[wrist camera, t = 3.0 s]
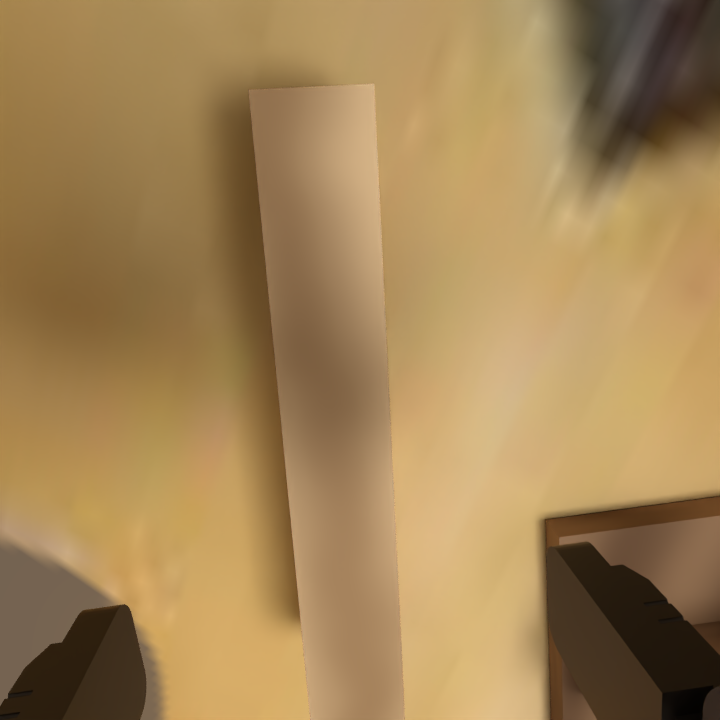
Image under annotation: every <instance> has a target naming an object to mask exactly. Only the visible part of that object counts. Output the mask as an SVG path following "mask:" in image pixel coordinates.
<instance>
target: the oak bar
mask: <svg viewBox="0 0 720 720" xmlns="http://www.w3.org/2000/svg"><path fill="white" fill-rule="evenodd" d="M248 92H249V102H250V112H251V122H252V132H253V142H254V153H255V163H256V173H257V183H258V193H259V203H260V214H261V224H262V234H263V244H264V254H265V264H266V274H267V285H268V295H269V305H270V315H271V325H272V335H273V346H274V356H275V366H276V376H277V386H278V396H279V407H280V417H281V427H282V437H283V447H284V457H285V468H286V478H287V488H288V498H289V508H290V518H291V529H292V539H293V549H294V559H295V569H296V579H297V589H298V600H299V610H300V620H301V630H302V640H303V650H304V661H305V671H306V681H307V691H308V701H309V711H310V720H405V708H404V687H403V667H402V646H401V626H400V605H399V584H398V564H397V543H396V523H395V502H394V482H393V461H392V440H391V420H390V399H389V379H388V358H387V337H386V317H385V296H384V276H383V255H382V234H381V214H380V193H379V173H378V152H377V131H376V111H375V90H374V84H354V85H334V86H313V87H292V88H271V89H250V90H248Z"/></svg>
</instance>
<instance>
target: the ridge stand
mask: <svg viewBox="0 0 720 720" xmlns="http://www.w3.org/2000/svg"><path fill="white" fill-rule="evenodd" d="M585 541H587V542H590V543H591V544H592V545H593V546H594V547H595V548H596V549H597V550H598V552H599V553H600V554H601V555H602V556H603V557H604V559H605V560H606V561H607V562H608V563H609V564H610V566H614V565H621V564H623V565H625V566H626V567H628V568H630V569H632V570H633V571H635V572H637V573H638V574H640V575H642V576H644V577H645V578H647V579H649V580H650V581H651V582H652V583H653V584H654V586H655V587H656V588H657V589H658V590H659V591H660V592H661V593H662V594H663V595H664V596H665V597H666V598H667V600H668V603H669V604H670V603H671V604H672V605H673V606H674V607H675V608H676V609H677V610H678V611H679V612H680V613H681V614H682V615H683V618H684V620H685V621H686V620H687V621H688V622H689V623H690V624H691V625H692V626H693V627H694V628H695V629H696V630H697V631H698V632H699V633H700V635H701V636H702V637H703V638H704V639H705V640H706V641H707V642H708V643H709V644H710V645H711V646H712V647H713V648H714V649H715V651H716V652H717V653H718V654H719V655H720V496H719V497H712V498H704V499H697V500H689V501H682V502H675V503H667V504H660V505H652V506H645V507H637V508H630V509H622V510H615V511H607V512H600V513H593V514H585V515H578V516H570V517H563V518H555V519H548V520H546V544H547V549H548V548H549V547H550V546H557V545H564V544H571V543H578V542H585ZM549 655H550V692H551V720H597V719H596V717H595V715H594V714H593V712H592V710H591V708H590V707H589V705H588V703H587V701H586V700H585V698H584V696H583V694H582V692H581V691H580V689H579V687H578V685H577V684H576V682H575V680H574V678H573V677H572V675H571V673H570V671H569V670H568V668H567V666H566V664H565V663H564V661H563V659H562V657H561V656H560V654H559V652H558V650H557V648H556V646H555V643H554V641H553V638H552V634H551V631H550V626H549Z"/></svg>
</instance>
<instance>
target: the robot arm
mask: <svg viewBox="0 0 720 720" xmlns="http://www.w3.org/2000/svg"><path fill="white" fill-rule="evenodd" d="M546 563H547V603H548V621H549V626H550V631H551V634H552V638H553V641H554V643H555V646H556V648H557V650H558V652H559V654H560V656H561V657H562V659H563V661H564V663H565V664H566V666H567V668H568V670H569V671H570V673H571V675H572V677H573V678H574V680H575V682H576V684H577V685H578V687H579V689H580V691H581V692H582V694H583V696H584V698H585V700H586V701H587V703H588V705H589V707H590V708H591V710H592V712H593V714H594V715H595V717H596V719H597V720H720V655H719V654H718V653H717V652H716V651H715V649H714V648H713V647H712V646H711V645H710V644H709V643H708V642H707V641H706V640H705V639H704V638H703V637H702V636H701V635H700V633H699V632H698V631H697V630H696V629H695V628H694V627H693V626H692V625H691V624H690V623H689V622H688V621H687V620H686V621H685V620H684V618H683V615H682V614H681V613H680V612H679V611H678V610H677V609H676V608H675V607H674V606H673V605H672V604H671V603H670V604H669V603H668V600H667V598H666V597H665V596H664V595H663V594H662V593H661V592H660V591H659V590H658V589H657V588H656V587H655V586H654V584H653V583H652V582H651V581H650V580H649V579H647V578H645V577H644V576H642V575H640V574H638V573H637V572H635V571H633V570H632V569H630V568H628V567H626V566H625V565H623V564H621V565H614V566H610V564H609V563H608V562H607V561H606V560H605V559H604V557H603V556H602V555H601V554H600V553H599V552H598V550H597V549H596V548H595V547H594V546H593V545H592V544H591V543H590V542H587V541H585V542H578V543H571V544H564V545H557V546H550V547H549V548H548V549H547V555H546ZM145 697H146V674H145V669H144V665H143V661H142V656H141V652H140V648H139V643H138V639H137V635H136V631H135V626H134V622H133V618H132V614H131V611H130V609H129V607H128V606H127V605H125V604H124V605H117V606H110V607H102V608H96V609H88V610H83V611H82V612H81V613H80V614H79V615H78V617H77V618H76V620H75V622H74V623H73V625H72V627H71V628H70V630H69V632H68V633H67V635H66V637H65V639H64V640H63V642H62V643H55V644H51V645H49V646H48V648H46V649H45V650H44V651H43V652H42V653H41V654H40V655H39V656H37V657H36V658H35V659H34V660H33V661H32V662H31V663H30V664H29V665H27V666H26V667H25V669H24V670H23V672H22V673H21V675H20V676H19V678H18V679H17V681H16V683H15V684H14V686H13V687H12V689H11V690H10V692H9V693H8V699H4V701H3V703H2V704H1V706H0V720H140V718H141V715H142V712H143V709H144V704H145Z"/></svg>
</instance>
